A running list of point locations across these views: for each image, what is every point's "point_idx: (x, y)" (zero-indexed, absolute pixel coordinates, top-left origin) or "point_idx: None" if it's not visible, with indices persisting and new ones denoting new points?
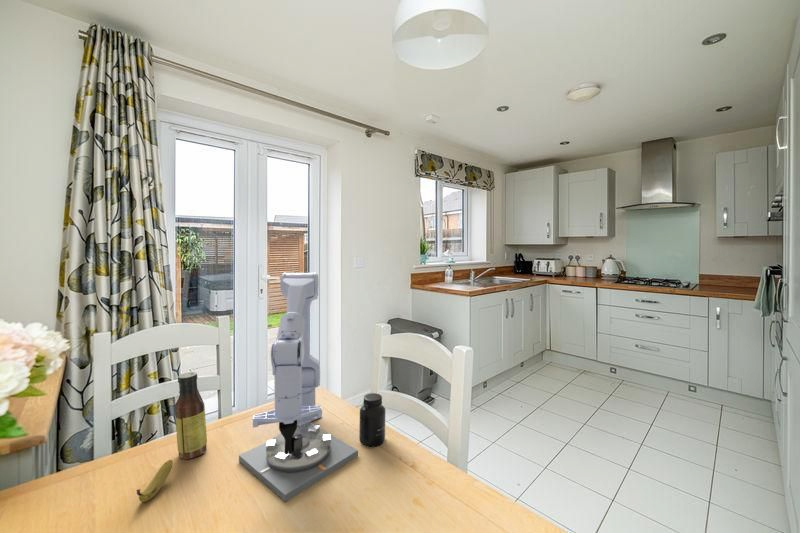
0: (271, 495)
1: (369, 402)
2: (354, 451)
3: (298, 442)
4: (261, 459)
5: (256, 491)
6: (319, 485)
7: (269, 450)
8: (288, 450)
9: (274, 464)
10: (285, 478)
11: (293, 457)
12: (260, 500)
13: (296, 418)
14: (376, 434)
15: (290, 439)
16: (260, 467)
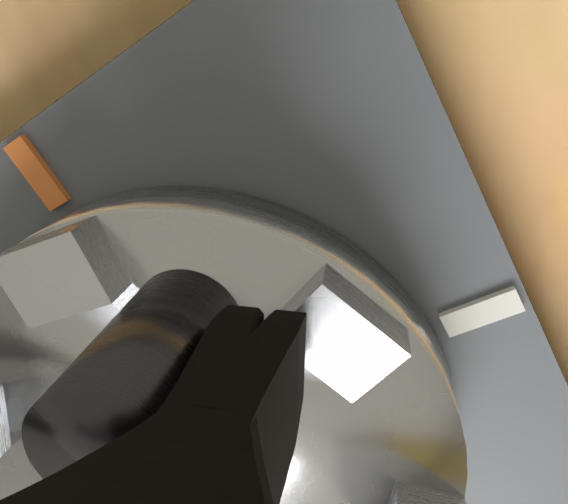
0: (452, 47)
1: None
2: None
3: (90, 365)
4: (487, 442)
5: (562, 144)
6: (81, 37)
7: (436, 481)
8: (253, 326)
9: (409, 313)
10: (327, 146)
11: None
12: (551, 11)
13: None
14: None
15: (162, 416)
16: (511, 359)
